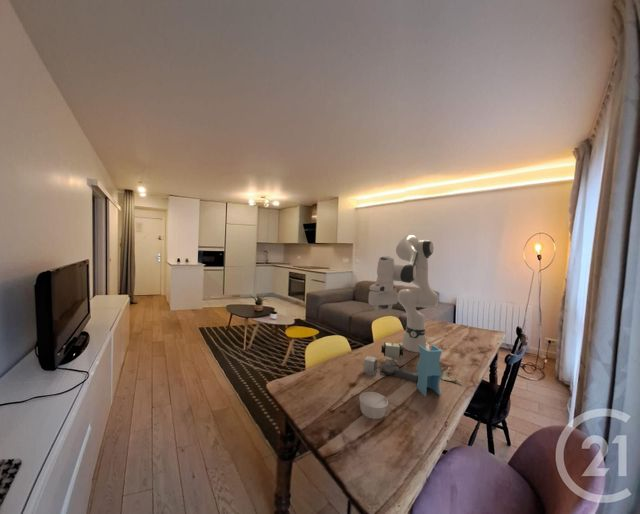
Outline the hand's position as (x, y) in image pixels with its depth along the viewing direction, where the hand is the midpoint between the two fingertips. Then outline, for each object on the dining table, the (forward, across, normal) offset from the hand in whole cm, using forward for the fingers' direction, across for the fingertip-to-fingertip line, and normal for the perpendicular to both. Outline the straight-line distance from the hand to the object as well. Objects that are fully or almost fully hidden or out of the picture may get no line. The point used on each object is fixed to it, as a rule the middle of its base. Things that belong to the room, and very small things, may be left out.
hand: (382, 313), depth 142 cm
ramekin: (+32, +30, +22) cm, 50 cm away
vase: (+31, -4, +26) cm, 40 cm away
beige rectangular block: (+31, +6, -2) cm, 31 cm away
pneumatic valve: (+30, -13, -2) cm, 33 cm away
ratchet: (+31, -6, +11) cm, 33 cm away
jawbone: (+31, -30, +25) cm, 50 cm away
